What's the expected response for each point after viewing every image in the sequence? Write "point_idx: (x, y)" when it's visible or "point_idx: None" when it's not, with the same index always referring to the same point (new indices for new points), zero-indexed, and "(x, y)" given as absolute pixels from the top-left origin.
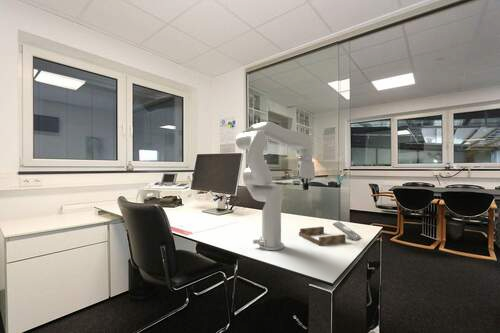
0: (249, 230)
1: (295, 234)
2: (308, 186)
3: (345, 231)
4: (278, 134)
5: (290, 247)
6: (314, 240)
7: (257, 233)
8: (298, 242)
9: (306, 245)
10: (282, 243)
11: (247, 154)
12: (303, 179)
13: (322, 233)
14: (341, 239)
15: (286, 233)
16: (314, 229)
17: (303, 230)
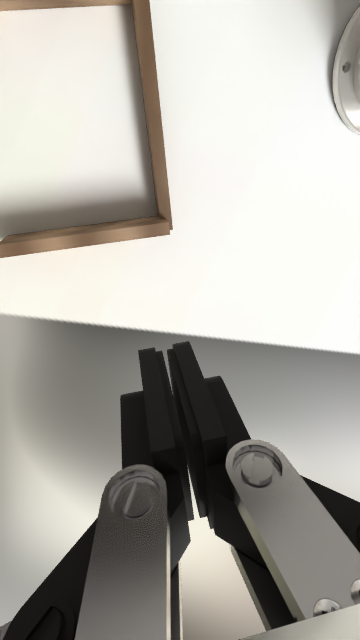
0: (340, 341)
1: (178, 249)
2: (123, 416)
3: None
4: None
5: (315, 13)
6: (152, 41)
7: (334, 294)
8: (230, 96)
9: (215, 19)
10: (345, 54)
11: None
12: (351, 566)
13: (17, 234)
14: None
15: (213, 274)
16: (71, 233)
17: (150, 222)
